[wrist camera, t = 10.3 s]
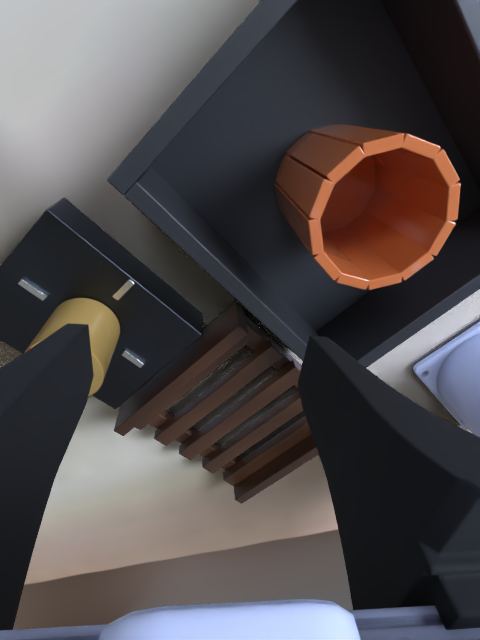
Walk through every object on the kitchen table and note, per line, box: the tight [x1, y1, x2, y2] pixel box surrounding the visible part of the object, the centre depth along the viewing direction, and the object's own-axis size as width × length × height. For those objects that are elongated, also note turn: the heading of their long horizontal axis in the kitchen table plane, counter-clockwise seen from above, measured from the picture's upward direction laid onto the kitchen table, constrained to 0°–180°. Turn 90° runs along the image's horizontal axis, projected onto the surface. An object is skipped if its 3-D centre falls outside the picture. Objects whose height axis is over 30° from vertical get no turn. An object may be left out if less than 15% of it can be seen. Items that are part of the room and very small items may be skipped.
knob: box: [24, 298, 120, 397], centre depth 18 cm, size 4×4×4 cm
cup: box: [275, 123, 461, 290], centre depth 16 cm, size 6×6×7 cm
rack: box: [114, 301, 319, 503], centre depth 26 cm, size 12×11×3 cm
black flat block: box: [0, 198, 202, 409], centre depth 21 cm, size 10×8×3 cm
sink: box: [107, 0, 480, 368], centre depth 18 cm, size 16×14×5 cm
